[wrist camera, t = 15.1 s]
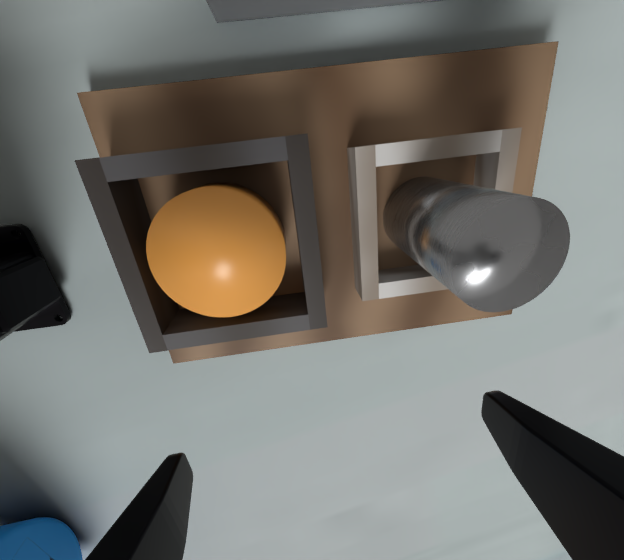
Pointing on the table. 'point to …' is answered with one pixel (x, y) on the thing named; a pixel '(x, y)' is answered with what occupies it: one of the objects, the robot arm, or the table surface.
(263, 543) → the table surface
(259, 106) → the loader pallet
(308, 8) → the gray square frame
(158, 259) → the button
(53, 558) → the alarm clock
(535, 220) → the cylinder
